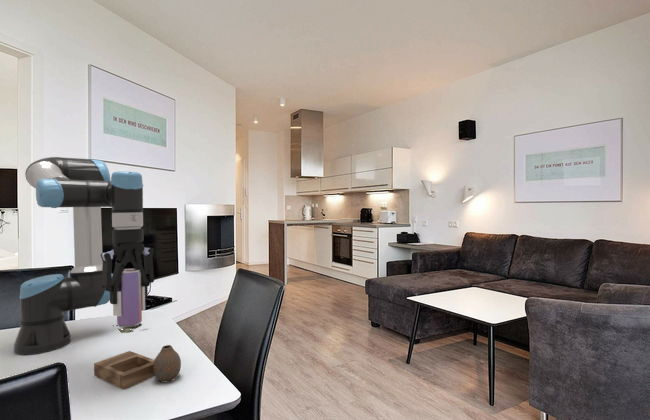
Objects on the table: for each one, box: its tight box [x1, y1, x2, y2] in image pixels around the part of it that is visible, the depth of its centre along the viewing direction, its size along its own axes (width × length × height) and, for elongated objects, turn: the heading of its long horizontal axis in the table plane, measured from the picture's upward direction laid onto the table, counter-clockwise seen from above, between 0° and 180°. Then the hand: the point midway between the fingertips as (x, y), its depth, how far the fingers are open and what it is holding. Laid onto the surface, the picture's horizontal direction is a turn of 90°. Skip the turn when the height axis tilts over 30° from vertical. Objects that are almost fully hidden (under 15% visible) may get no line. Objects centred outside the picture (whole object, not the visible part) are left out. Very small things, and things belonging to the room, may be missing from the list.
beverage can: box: [116, 267, 143, 328], centre depth 100 cm, size 6×6×15 cm
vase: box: [153, 344, 182, 383], centre depth 99 cm, size 7×7×9 cm
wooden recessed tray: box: [93, 350, 156, 390], centre depth 101 cm, size 15×10×4 cm, turn 58°
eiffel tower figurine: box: [112, 322, 147, 334], centre depth 142 cm, size 15×10×13 cm
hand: (129, 312), depth 100 cm, fingers closed on beverage can, 6 cm apart
